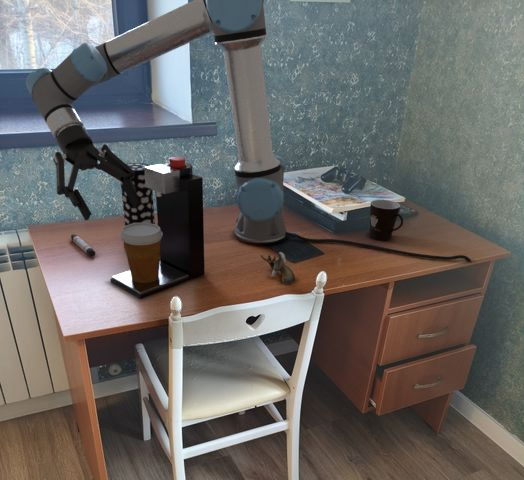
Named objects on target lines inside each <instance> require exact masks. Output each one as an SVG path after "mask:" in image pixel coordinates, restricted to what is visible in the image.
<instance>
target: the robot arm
mask: <svg viewBox="0 0 524 480" xmlns="http://www.w3.org/2000/svg"><path fill="white" fill-rule="evenodd" d="M264 2H265V0H191V1H189V2H187V3H185V4H183V5H180V6H178V7H177V8H174V9H172V10H170V11H168V12H166V13H163V14H161V15H160V16H158V17H156V18H153V19H151V20H149V21H147V22H144V23H143V24H141V25H139V26H137V27H135V28H133V29H130V30H128V31H125V32H123V33H122V34H120V35H118V36H115V37H113V38H111V39H109V40H107V41H106V42H103V43H101V44H98V45H96V46H94V45H92V44H91V43H89V42H83V43H81V44H80V45H79V46H78V47H76V48H74V49H73V50H72V52H71V53H69V55H67V57H66V58H64V60H62V62H61V63H59V64H58V65H57V66H56V67H55V69H50V68H47V67H41V68H37V70H35V71H34V70H33V71H31V72H30V73H29V74H28V75H27V77H26V80H25V86H26V89H27V91H28V93H29V95H30V98H31V100H32V102H33V103H34V105H35V107H36V108H37V109H38V111H39V113H40V114H41V116H42V118H43V119H44V122H45V123H46V126H47V127H48V129H49V131H50V132H51V134H52V137H53V138H54V139H55V140H56V144H57V145H58V146H59V148H60V151H61V152H62V153H61V152H60V151H56V152H55V153H54V156H53V163H54V164H55V170H56V171H55V175H56V177H55V178H56V179H55V180H56V194H57V195H58V196H61V195H64V197H65V198H67V199H69V201H70V202H71V204H72V206H73V207H75V208H77V209H78V210H79V212H80V214H81V217H83V219H84V221H89V219H90V218H91V216H92V212H91V211H90V209H89V206H88V205H87V203H86V201H85V200H84V197H83V196H82V194H81V192H80V191H79V189H78V188H77V189H76V188H75V185H76V181H77V177H78V173H79V170H80V171H87V170H94V169H96V170H98V171H103V172H104V173H106V174H108V175H109V176H111V177H112V178H114V179H116V180H118V181H119V182H120V183H121V182H123V184H122V187H123V189H124V191H125V192H126V194H127V196H128V198H129V199H130V201H131V203H132V205H133V207H134V208H136V207H137V206H138V205H139V204H140V202H141V201H140V199H139V198H138V196H137V194H136V188H135V186H134V184H133V182H132V181H131V180H132V178H133V177H134V175H135V172H134V171H133V170H132V169H131V168H130V167H129V166H127V165H126V164H127V163H125V162H124V161H123V160H122V159H121V158H119V157H118V156H117V155H116V154H115V153H114V152H112V150H111V149H110V147H109V146H108V145H107V144H105V143H104V144H103V145H102V146H101V147H98V148H97V147H96V146H95V145H94V143H93V139H92V137H91V136H90V133H89V132H88V130H87V128H86V127H85V126H84V123H83V121H82V120H81V117H80V116H79V114H78V112H77V111H76V109H75V107H74V105H73V103H74V102H75V101H77V100H78V99H79V98H80V97H81V96H82V95H84V93H85V92H87V91H88V90H89V89H90V88H92V87H94V86H97V85H99V84H100V83H105V82H107V81H110V80H111V79H113V78H115V77H117V76H119V75H121V74H123V73H125V72H127V71H130V70H132V69H134V68H136V67H139V66H141V65H144V64H146V63H147V62H150V61H152V60H154V59H156V58H158V57H161V56H163V55H166V54H167V53H170V52H172V51H174V50H176V49H178V48H181V47H184V46H186V45H188V44H190V43H192V42H195V41H197V40H198V39H200V38H201V39H202V38H203V37H205V36H208V35H210V34H213V39H214V44H215V45H216V46H217V47H218V48H219V49H220V51H222V53H223V60H224V67H225V73H226V81H227V87H228V94H229V100H230V107H231V115H232V121H233V122H232V123H233V129H234V134H235V142H236V147H237V155H238V156H237V157H238V161H237V163H236V164H235V166H234V168H233V170H234V176H235V182H236V189H237V192H236V204H237V206H238V209H239V211H240V212H239V215H238V217H237V218H236V221H235V225H234V238H235V239H237V240H238V241H239V242H242V243H245V244H248V245H253V246H271V245H277V244H280V243H282V242H284V241H285V240H286V239H287V236H288V237H291V238H295V237H297V238H296V239H298V240H301V241H304V242H309V243H337V244H345V245H346V244H347V245H353V246H358V247H364V248H368V249H374V250H379V251H384V252H388V253H393V254H399V255H404V256H409V257H416V258H417V257H418V258H423V259H431V260H432V259H434V260H444V261H451V260H459V259H463V260H466V262H468V263H472V260H471V258H470V257H468V256H466V255H464V254H457V255H452V256H444V255H443V256H442V255H433V254H432V255H431V254H423V253H422V254H421V253H416V252H410V251H404V250H399V249H393V248H388V247H383V246H378V245H374V244H369V243H363V242H359V241H358V242H357V241H351V240H345V239H334V238H310V237H305V236H302V235H298V234H294V233H291V232H287V227H286V223H285V219H284V216H283V211H282V209H283V206H284V203H285V193H284V178H285V177H284V175H285V169H286V166H285V159H284V158H283V157H282V156H280V155H274V151H273V141H272V133H271V124H270V114H269V105H268V98H267V88H266V80H265V71H264V62H263V53H262V45H263V43H264V41H265V39H266V38H267V28H266V27H267V26H266V18H265V17H266V16H265V7H264V4H265V3H264ZM65 162H68V163H69V164H70V165H72V167H71V171H70V175H69V178H68V182H67V186H66V179H65V178H66V177H65V176H66V175H65ZM98 162H99V163H98ZM74 188H75V189H74ZM284 237H285V238H284Z"/></svg>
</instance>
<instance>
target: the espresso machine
mask: <svg viewBox="0 0 524 480" xmlns="http://www.w3.org/2000/svg"><path fill="white" fill-rule="evenodd" d="M144 171H145V184H146V187H147V188H150V189H152V190H153V191H154V196H155V197H156V196H157V197H162V196H164V194H168V193H172V192H176V191H180V170H177V169H174V168H171V167H169V168H168V167H167V166H164V164H162V163H158V164H153V165H150V166H147V167H144ZM109 281H110V284H113V285H115V286H116V287H118V288H119V289H121V290H123V291H125V292H126V293H128V294H130V295H132V296H134V297H135V298H137V299H139V300H142V299H145V298H148V297H151V296H153V295H156V294H159V293H162V292H164V291H166V290H169V289H172V288H174V287H178V286H180V285H182V284H185V283H188V282H190V281H192V280H191V277H190V276H188V274H186V273H184V272H182V271H179V270H177V269H175V268H173V267H171V266H169V265H167V264H165V263H163V262H161V261H160V260H159V277H158V279H156V280H155V281H152V282H147V283H141V282H136V281H134V280H133V279H132V276H131V272H130V270H127V271H124V272H121V273H118V274H114V275H112V276H111V278H109Z"/></svg>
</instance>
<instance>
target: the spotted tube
mask: <svg viewBox="0 0 524 480" xmlns="http://www.w3.org/2000/svg"><path fill="white" fill-rule="evenodd" d="M125 164H126V165H127V166H129V167H130V168H131V169H132V170H133V171H134V172H135V175H134V177H133V178H132V180H131V181H132V182H133V184H134V186H135V188H136V194H137V196H138V198H139V199H140V201H141V202H140V204H139V205H138V206H137V207H136V208H134V207H133V205H132V203H131V201H130V199H129V198H128V196H127V194H126V192H125V191H124V189H123V187H122V184H123V182H121V181H120V190H121V191H120V192H121V200H122V210H123V211H122V212H123V217H124V218H123V220H124V226H126V225H129V224H133V223H152V224H155V225H156V220H155V205H154V203H155V202H154V190H152V189H150V188H147V187H146V184H145V171H144V167H147V166H151V164H148V163H144V162H128V163H125Z"/></svg>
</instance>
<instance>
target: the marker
mask: <svg viewBox="0 0 524 480" xmlns="http://www.w3.org/2000/svg"><path fill="white" fill-rule="evenodd" d="M70 239H71V241H72V242H73V243H74V244H75V245H76V246H77V247H78V248H79V249H81V250H82V251H83V252H84V253H85V254H86V255H87V256H88V257H90V258H94V257H95V256H96V251H95V250H94V249H93V248H92V247H91V246H90V245H89V244H88V243H86V241H84V240H83V239H82V238H81V237H79V236H78V235H77V234H74V233H71V235H70Z"/></svg>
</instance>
